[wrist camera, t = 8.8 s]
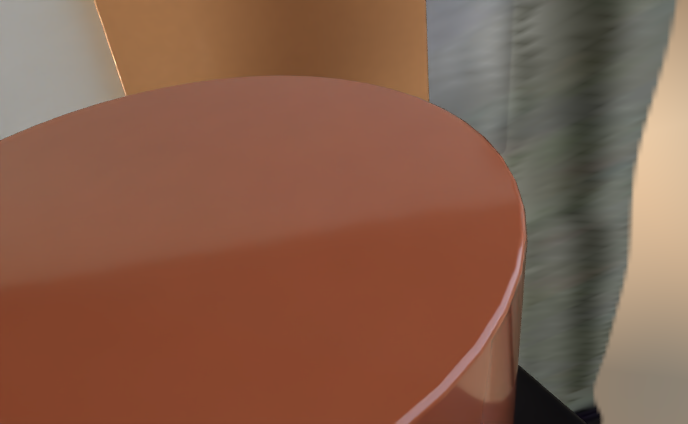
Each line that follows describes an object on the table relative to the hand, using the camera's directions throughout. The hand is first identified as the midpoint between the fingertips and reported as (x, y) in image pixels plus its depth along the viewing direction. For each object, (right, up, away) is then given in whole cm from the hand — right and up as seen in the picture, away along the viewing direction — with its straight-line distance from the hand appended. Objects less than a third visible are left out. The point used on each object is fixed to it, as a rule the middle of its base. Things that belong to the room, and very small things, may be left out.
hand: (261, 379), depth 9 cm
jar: (0, 0, +1) cm, 1 cm away
